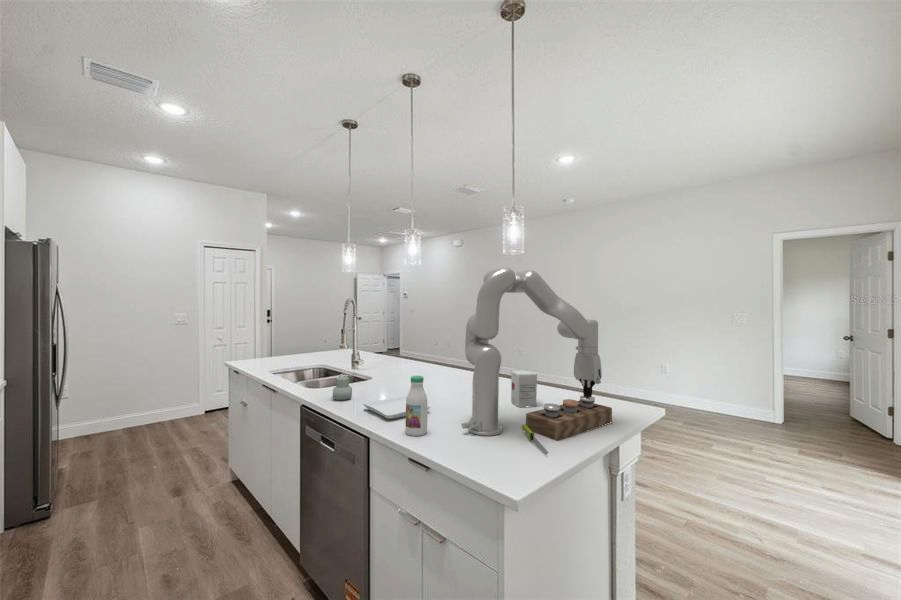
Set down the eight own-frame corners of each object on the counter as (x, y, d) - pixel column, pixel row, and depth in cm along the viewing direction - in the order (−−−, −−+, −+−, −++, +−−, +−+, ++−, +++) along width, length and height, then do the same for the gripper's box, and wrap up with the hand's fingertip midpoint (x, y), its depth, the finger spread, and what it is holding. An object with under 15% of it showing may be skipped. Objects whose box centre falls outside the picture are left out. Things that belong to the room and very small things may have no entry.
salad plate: (431, 413, 161) (431, 405, 161) (387, 423, 147) (388, 414, 147) (404, 403, 177) (404, 395, 177) (362, 411, 164) (362, 403, 164)
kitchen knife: (550, 461, 116) (550, 451, 116) (546, 461, 116) (546, 452, 115) (524, 431, 138) (525, 423, 138) (521, 431, 138) (521, 423, 137)
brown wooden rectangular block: (557, 440, 130) (557, 423, 130) (525, 429, 142) (526, 413, 142) (611, 422, 151) (611, 407, 151) (580, 414, 162) (580, 400, 162)
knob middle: (572, 420, 142) (572, 403, 142) (559, 416, 147) (559, 400, 147) (581, 417, 146) (581, 401, 146) (568, 413, 150) (568, 398, 150)
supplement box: (510, 402, 179) (510, 370, 179) (528, 401, 181) (528, 370, 181) (518, 408, 170) (518, 374, 170) (536, 407, 172) (537, 373, 172)
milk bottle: (417, 427, 142) (418, 373, 142) (431, 433, 136) (432, 376, 137) (401, 432, 137) (401, 376, 137) (414, 438, 131) (415, 379, 131)
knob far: (589, 415, 149) (589, 399, 149) (576, 411, 153) (577, 396, 153) (597, 412, 152) (597, 397, 152) (585, 409, 157) (585, 394, 157)
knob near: (553, 425, 136) (553, 408, 136) (540, 421, 140) (540, 405, 140) (562, 422, 139) (563, 406, 139) (550, 418, 143) (550, 402, 143)
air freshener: (350, 401, 178) (350, 380, 178) (332, 402, 176) (332, 380, 176) (352, 395, 188) (352, 375, 188) (334, 396, 187) (334, 375, 187)
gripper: (566, 349, 157) (566, 394, 157) (599, 353, 145) (599, 402, 145) (577, 348, 161) (577, 391, 161) (610, 351, 149) (610, 399, 149)
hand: (587, 396), depth 153 cm, fingers closed
